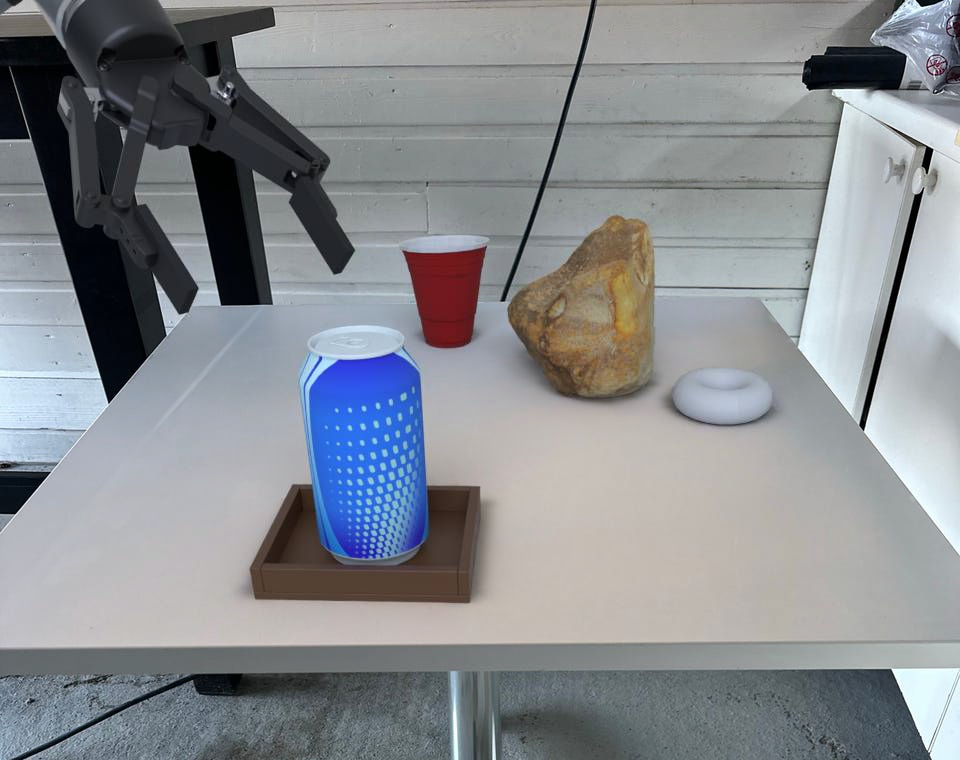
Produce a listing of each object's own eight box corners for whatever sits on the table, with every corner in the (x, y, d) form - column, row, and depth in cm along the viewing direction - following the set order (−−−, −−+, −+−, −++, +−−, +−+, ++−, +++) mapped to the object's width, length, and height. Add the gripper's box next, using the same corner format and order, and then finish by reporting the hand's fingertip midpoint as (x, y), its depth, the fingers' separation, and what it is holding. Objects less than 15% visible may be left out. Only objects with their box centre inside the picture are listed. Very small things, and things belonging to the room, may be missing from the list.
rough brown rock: (531, 341, 116) (521, 214, 108) (664, 337, 112) (665, 204, 103) (488, 415, 98) (472, 270, 90) (645, 414, 94) (644, 261, 85)
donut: (730, 389, 100) (651, 402, 96) (735, 357, 98) (655, 369, 95) (790, 421, 92) (706, 436, 89) (797, 387, 90) (712, 401, 87)
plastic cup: (475, 323, 120) (473, 224, 113) (503, 348, 112) (502, 243, 105) (394, 333, 118) (387, 232, 111) (417, 358, 109) (410, 251, 102)
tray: (254, 599, 67) (248, 568, 65) (296, 511, 78) (292, 483, 76) (469, 603, 66) (468, 571, 64) (480, 514, 77) (480, 485, 75)
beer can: (411, 513, 76) (398, 315, 66) (444, 561, 69) (434, 349, 60) (310, 532, 73) (282, 329, 64) (335, 584, 67) (307, 367, 58)
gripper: (241, 57, 76) (379, 278, 76) (-73, 80, 61) (100, 354, 61) (271, -23, 70) (421, 217, 70) (-69, -21, 55) (123, 284, 55)
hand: (271, 281), depth 65 cm, fingers open, 13 cm apart
